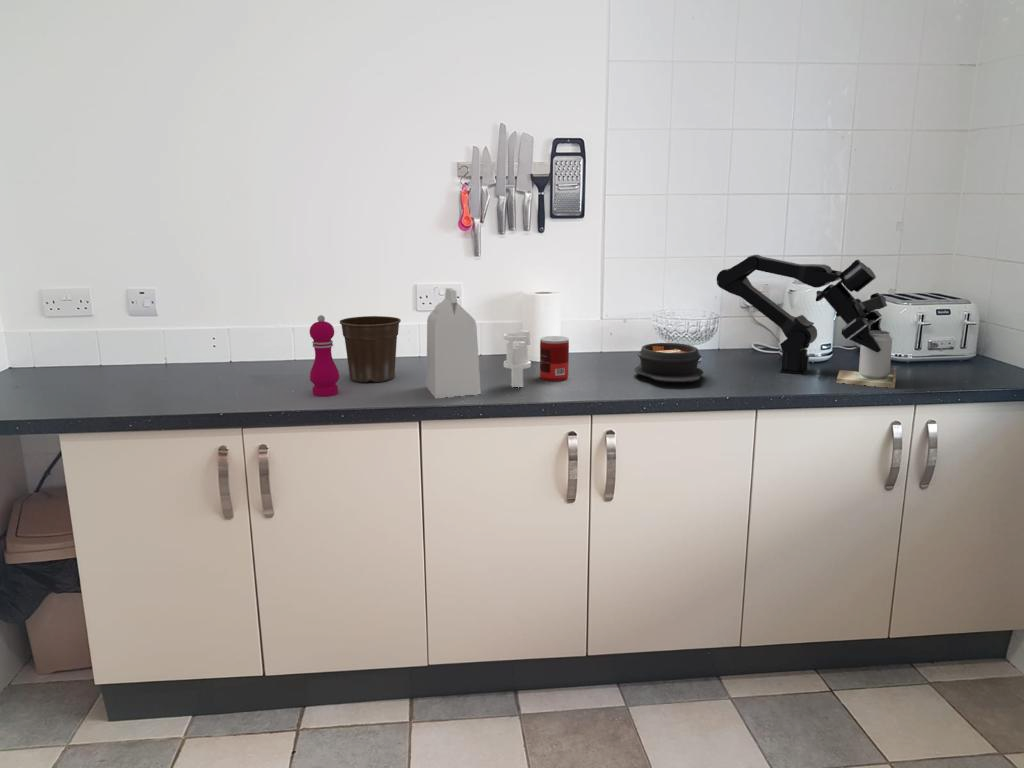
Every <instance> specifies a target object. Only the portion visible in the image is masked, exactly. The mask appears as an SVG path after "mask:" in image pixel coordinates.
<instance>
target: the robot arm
mask: <svg viewBox="0 0 1024 768" xmlns="http://www.w3.org/2000/svg"><path fill="white" fill-rule="evenodd" d="M756 271H759V272H764V273H769V274H774V275H779V276H784V277H788V278H792V279H794V280H797V281H799V282H800V283H802V284H805V285H807V286H810V287H812V288H821V287H824V286H825V288H824V289H823V290H817V291H816V293H815V294H816V297H815V302H821V301H822V300H823V299H824V300H825V301H826V302H827V303H828V305H829V306H831V308H832V309H833V310H834V312H835V316H836V317H837V318H838V317H840V318H841V319H842V320H843V322H844V323H845V324H846V325H845V326H843V328H842V329H841V333H840V334H841V335H842V337H843V338H845V340H848V339H849V341H852V342H855V343H857V344H859V345H860V346H861V345H863V346H865V347H867V348H869V349H871V350H873V351H875V352H879V351H881V349H880V347H879V345H878V344H877V342H876V341H875V339H874V337H873V336H872V334H871V333H870V331H872V330H876V331H883V330H882V328H881V323H882V319H883V318H882V316H883V315H882V314H881V313H880V312H879V311H878V310H881V309H884V308H885V307H887V306H888V304H887V302H886V300H887V298H886V297H885V296H884V294H880V293H878V292H875V293H873V294H871V295H870V298H869V299H866V300H864V301H862V300H861V299H860V298H855V297H854V296H853V295H852V294H851V292H856V293H859V292H860V291H861V290H862V289H864V288H865V287H866V286H868V285H869V284H870V283H872V282H873V281H874V280H875V279H876V278H877V277H876V275H875V273H874V271H873V270H872V269H871V268H870V267H868V266H867V265H866V264H865V263H863V262H861V260H859V259H855V260H854V261H853V262H852V263H851V265H849V266H848V267H847V268H845V270H843V271H841V270H836V269H835V270H834V269H832V267H831V266H830V265H828V264H817V263H815V264H812V263H811V264H810V263H808V264H807V263H806V264H803V263H802V264H800V263H795V262H790V261H785V260H781V259H777V258H771V257H766V256H761V255H760V254H753V255H749V256H748V257H746V258H745V259H744V260H742V261H741V262H739V263H737V264H735V265H734V266H732V267H730V268H726V269H722V270H721V271H720V272H718V273H717V275H716V285H717V286H718V287H719V288H720V289H721V290H724V291H725V292H727V293H729V294H732V295H734V296H737V297H739V298H741V299H743V300H744V301H746V303H748V304H750V305H751V306H752V307H753V308H754V309H756V310H757V311H758V312H760V313H761V314H762V315H764V316H765V317H766V318H767V319H768V320H770V321H771V322H773V323H774V324H775V325H776V326H778V327H779V328H780V329H781V331H782V333H783V335H784V336H785V337H786V339H785V340H784V341H783V342H781V343H780V344H779V345H780V347H781V351H782V356H781V367H780V370H779V372H780V373H787V374H788V373H789V374H799V375H800V374H801V375H805V374H806V372H807V371H809V362H810V361H809V360H810V356H809V355H808V348H809V347H810V344H812V343H814V342H815V341H816V340H817V339H818V338H817V336H818V330H817V328H816V326H814V324H815V323H814V322H812V321H810V320H809V319H808V318H806V316H804V314H800V315H798V316H793V315H792V314H790V313H789V312H787V311H786V310H784V308H782V307H781V306H779V304H777V303H776V302H774V301H773V300H771V298H769V297H768V296H766V294H763V292H761V291H760V290H758V289H757V288H756V287H755V286H753V284H752V283H751V281H750V280H749V278H748V277H749V276H750V275H751V274H752V273H753V272H756ZM836 281H838V282H837V283H836V284H830V283H834V282H836Z"/></svg>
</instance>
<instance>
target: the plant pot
mask: <svg viewBox="0 0 1024 768" xmlns="http://www.w3.org/2000/svg"><path fill="white" fill-rule="evenodd" d="M401 321H402V320H401V318H398V317H394V316H383V315H381V316H380V315H378V316H377V315H370V316H369V315H368V316H367V315H366V316H365V315H364V316H353V317H347V318H343V319H340V320H339V324H340V326H341V331H342V336H343V338H344V344H345V350H346V357H347V365H348V373H349V374H348V375H349V379H350V380H351V381H353V382H357V383H369V382H373V383H380V382H381V383H382V382H383V383H384V382H388V381H391V380H392V379H394V378H395V375H396V357H397V345H398V344H397V342H398V335H399V330H400V329H399V328H400V323H401Z"/></svg>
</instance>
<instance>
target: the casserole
mask: <svg viewBox="0 0 1024 768" xmlns="http://www.w3.org/2000/svg"><path fill="white" fill-rule="evenodd" d="M637 356H638V358H639V359H640V363H639V365H637V366H635V368H634V372H635V373H636V374H638V375H640V376H643V377H646V378H647V379H650V380H654V381H658V382H664V383H690V382H691V383H692V382H697V381H699V380H700V379H701V376H702V375H703V374H704V371H703V369H702V368H699V367H698V365H699V361H700V360H701V358H702V355H701V354H700V352H699V349H698V347H696V346H693V345H690V344H685V343H677V342H655V343H649V344H644V345H642V347H641V348H640V350H639V352H638V353H637Z"/></svg>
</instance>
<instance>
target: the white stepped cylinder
mask: <svg viewBox="0 0 1024 768" xmlns="http://www.w3.org/2000/svg"><path fill="white" fill-rule="evenodd" d="M531 339H532V333H531V331H530V330H524V329H521V330H518V331H514V332H513V331H512V332H506V333H505V332H504V333H503V340H504V341H506V360H504V361H503V367H504V368H505V369H510V371H511V386H512V387H511V388H513V387H518V388H517V389H520V388H519V387H522V388H523V387H524V369H529V368H530V367H532V362H531V360H529V352H528V351H529V350H528V349H529V347H528V346H530V345H531ZM517 342H518V345H517Z"/></svg>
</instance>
